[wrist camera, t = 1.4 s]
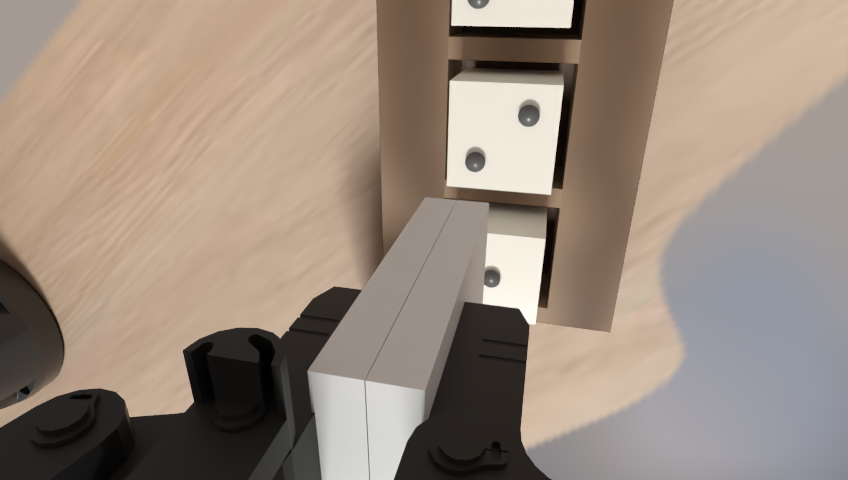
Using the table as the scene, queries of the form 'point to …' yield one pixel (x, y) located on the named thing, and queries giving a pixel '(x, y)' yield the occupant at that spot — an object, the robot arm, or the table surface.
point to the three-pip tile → (512, 13)
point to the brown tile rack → (584, 145)
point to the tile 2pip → (504, 129)
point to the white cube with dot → (514, 256)
